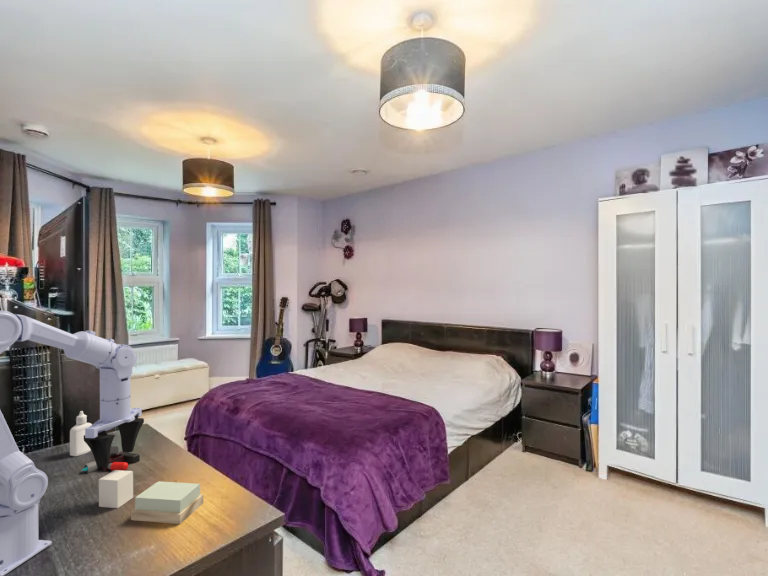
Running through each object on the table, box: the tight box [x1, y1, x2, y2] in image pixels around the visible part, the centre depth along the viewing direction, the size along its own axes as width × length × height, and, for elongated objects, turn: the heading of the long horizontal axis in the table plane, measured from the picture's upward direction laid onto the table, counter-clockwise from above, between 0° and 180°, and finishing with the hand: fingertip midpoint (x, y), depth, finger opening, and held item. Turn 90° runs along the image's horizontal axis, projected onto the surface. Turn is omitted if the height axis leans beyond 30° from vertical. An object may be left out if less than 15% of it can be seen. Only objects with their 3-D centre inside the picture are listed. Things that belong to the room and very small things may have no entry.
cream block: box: [98, 470, 134, 509], centre depth 90 cm, size 4×4×6 cm
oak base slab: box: [130, 493, 204, 525], centre depth 86 cm, size 8×11×2 cm
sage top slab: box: [134, 480, 201, 513], centre depth 87 cm, size 7×10×2 cm
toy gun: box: [81, 444, 141, 474], centre depth 107 cm, size 10×12×5 cm
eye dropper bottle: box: [69, 410, 93, 457], centre depth 117 cm, size 4×6×12 cm
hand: (115, 458), depth 91 cm, fingers open, 7 cm apart
